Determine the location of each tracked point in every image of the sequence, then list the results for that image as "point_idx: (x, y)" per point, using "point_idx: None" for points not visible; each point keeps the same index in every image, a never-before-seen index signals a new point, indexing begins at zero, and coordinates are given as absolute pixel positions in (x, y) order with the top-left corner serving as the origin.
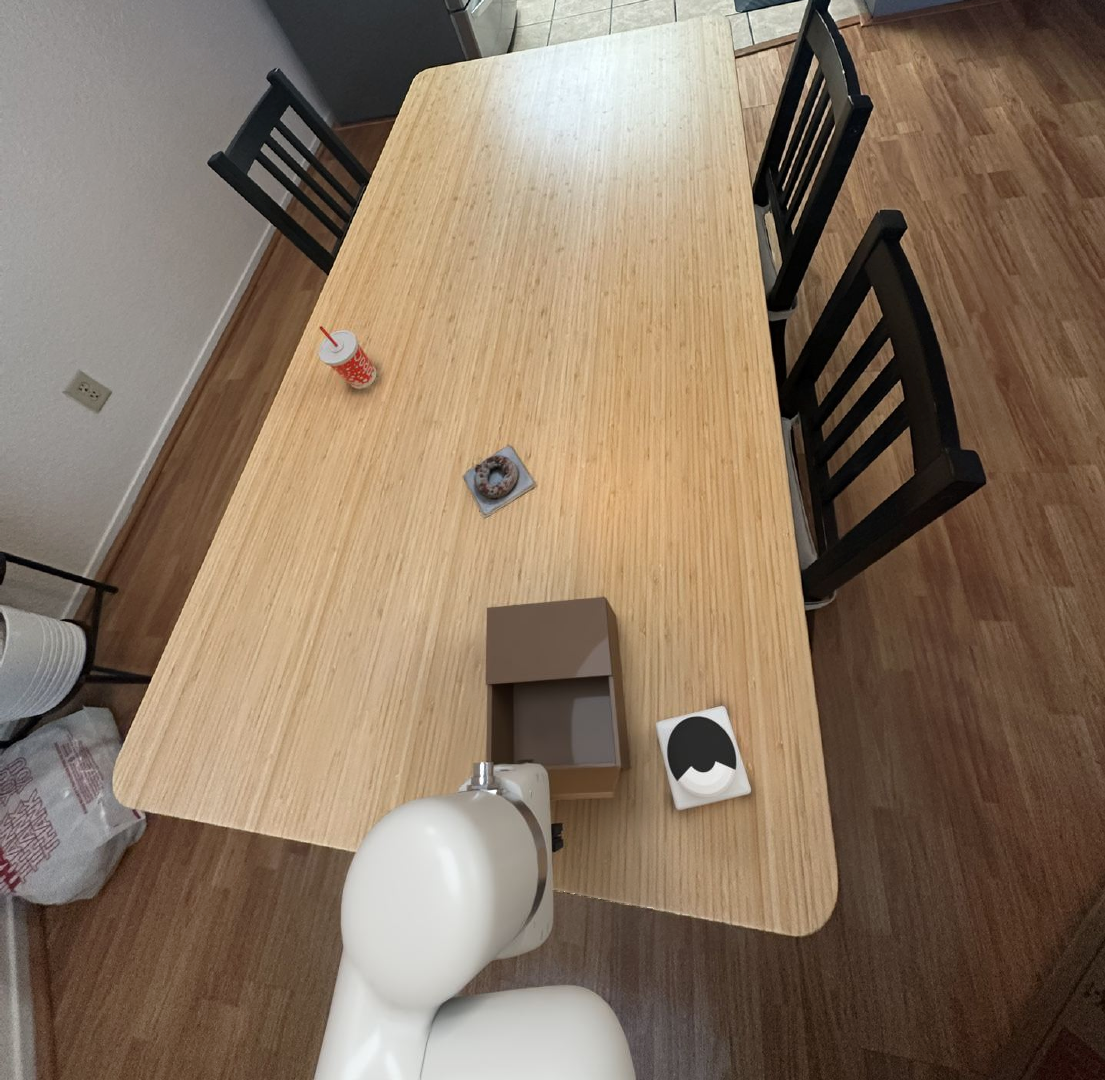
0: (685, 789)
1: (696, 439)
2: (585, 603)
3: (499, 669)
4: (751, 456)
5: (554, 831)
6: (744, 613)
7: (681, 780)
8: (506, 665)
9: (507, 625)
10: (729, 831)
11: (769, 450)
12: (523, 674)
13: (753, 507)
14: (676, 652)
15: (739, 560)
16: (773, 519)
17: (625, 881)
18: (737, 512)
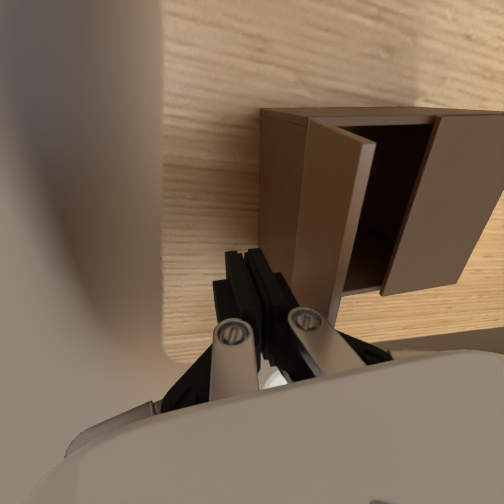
0: (271, 377)
1: (474, 290)
2: (461, 263)
3: (450, 144)
4: (442, 323)
5: (275, 365)
6: (348, 322)
7: (280, 376)
8: (450, 157)
9: (497, 155)
10: (212, 316)
11: (439, 333)
12: (427, 187)
13: (410, 325)
14: None
15: (382, 318)
16: (398, 336)
17: (168, 242)
18: (412, 316)
